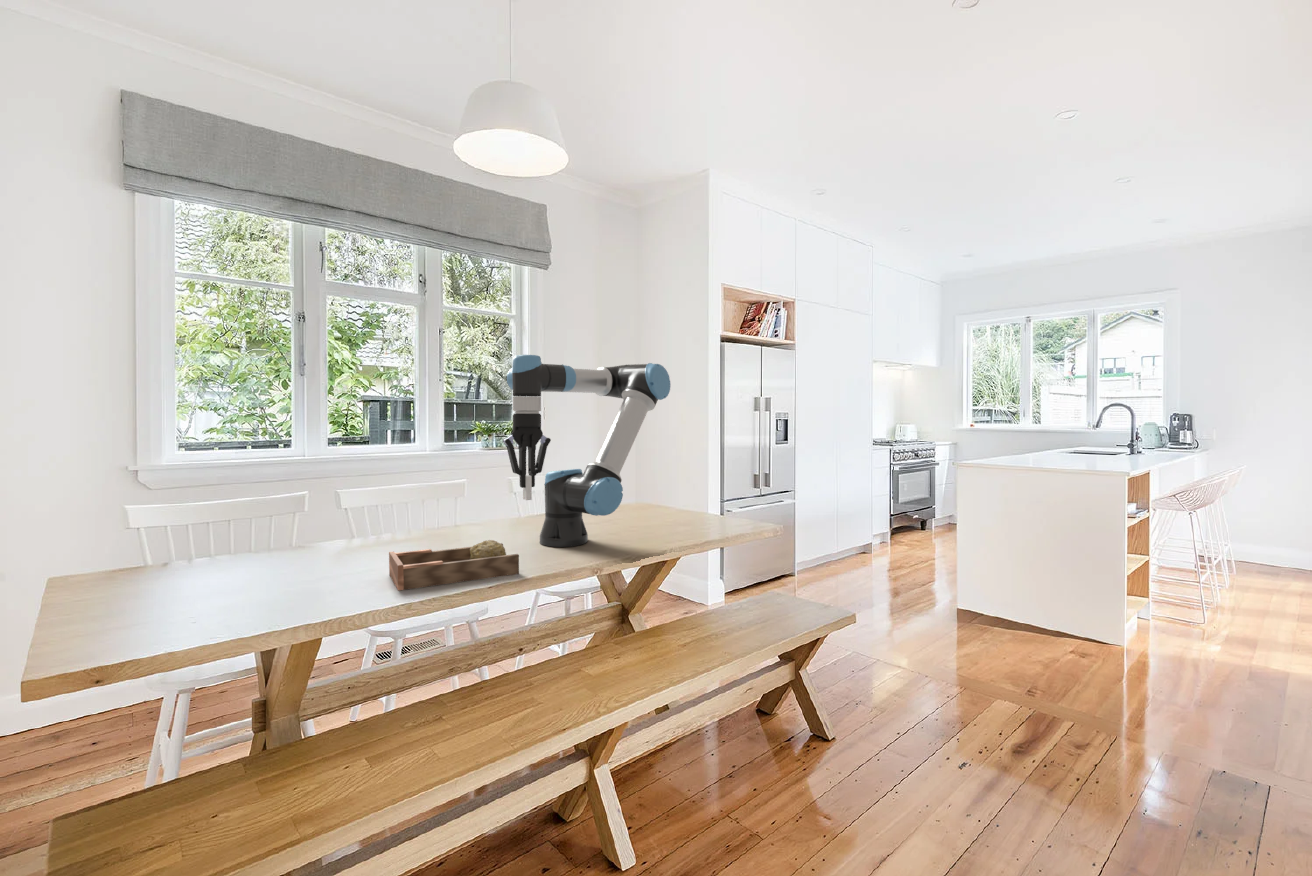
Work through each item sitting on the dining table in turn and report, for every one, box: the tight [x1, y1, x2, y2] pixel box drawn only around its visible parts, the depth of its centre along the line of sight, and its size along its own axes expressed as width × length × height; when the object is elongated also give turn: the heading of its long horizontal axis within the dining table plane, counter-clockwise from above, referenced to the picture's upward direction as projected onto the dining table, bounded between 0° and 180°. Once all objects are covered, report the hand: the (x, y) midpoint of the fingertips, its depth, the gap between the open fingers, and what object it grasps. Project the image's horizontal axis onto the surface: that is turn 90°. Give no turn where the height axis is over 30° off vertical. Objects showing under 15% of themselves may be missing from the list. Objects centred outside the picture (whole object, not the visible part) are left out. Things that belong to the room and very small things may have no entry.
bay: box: [388, 542, 520, 592], centre depth 160 cm, size 29×15×6 cm, turn 121°
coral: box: [470, 539, 507, 559], centre depth 164 cm, size 9×9×8 cm
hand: (527, 499), depth 169 cm, fingers closed
